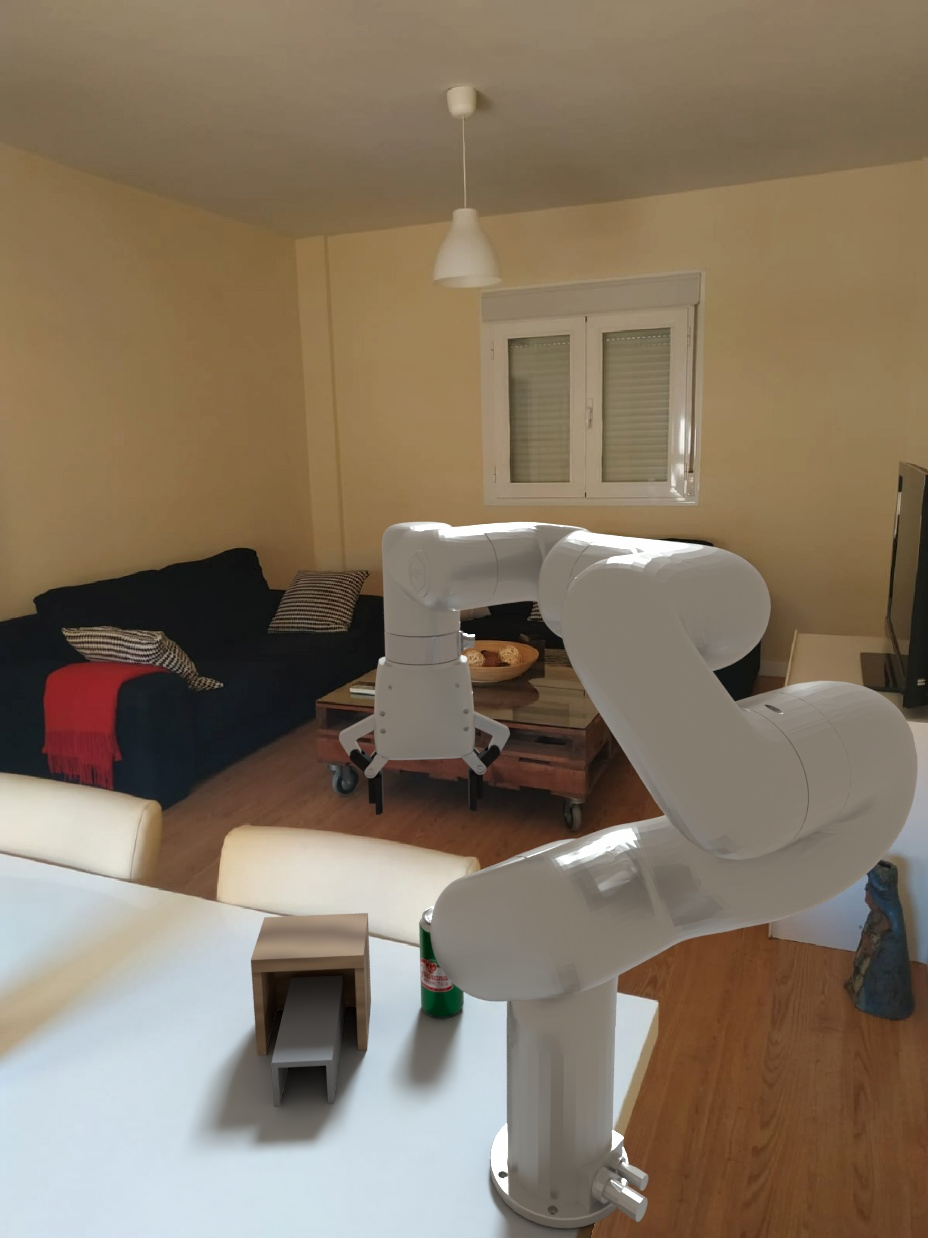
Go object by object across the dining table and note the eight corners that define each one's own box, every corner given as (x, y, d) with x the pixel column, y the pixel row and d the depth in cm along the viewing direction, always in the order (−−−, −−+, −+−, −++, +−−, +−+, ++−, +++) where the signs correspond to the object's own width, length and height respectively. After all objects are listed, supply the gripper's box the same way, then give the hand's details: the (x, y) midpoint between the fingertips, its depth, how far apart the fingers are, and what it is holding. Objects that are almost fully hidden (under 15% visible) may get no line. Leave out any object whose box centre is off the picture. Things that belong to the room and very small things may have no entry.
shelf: (367, 1049, 95) (363, 955, 92) (257, 1055, 94) (250, 960, 92) (371, 1000, 103) (367, 913, 101) (269, 1005, 102) (264, 917, 100)
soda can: (413, 1013, 101) (410, 919, 98) (434, 989, 105) (432, 899, 103) (450, 1026, 98) (449, 930, 96) (471, 1001, 103) (470, 909, 100)
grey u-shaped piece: (334, 1103, 87) (331, 1060, 86) (274, 1106, 87) (271, 1063, 86) (345, 1013, 101) (343, 975, 100) (293, 1016, 100) (291, 977, 99)
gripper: (505, 636, 90) (505, 791, 93) (338, 640, 89) (345, 796, 92) (513, 653, 82) (513, 820, 86) (332, 658, 81) (339, 826, 85)
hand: (426, 807), depth 89 cm, fingers open, 9 cm apart
